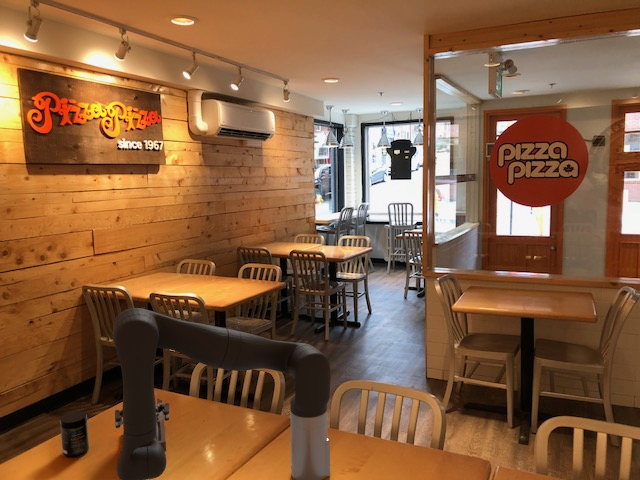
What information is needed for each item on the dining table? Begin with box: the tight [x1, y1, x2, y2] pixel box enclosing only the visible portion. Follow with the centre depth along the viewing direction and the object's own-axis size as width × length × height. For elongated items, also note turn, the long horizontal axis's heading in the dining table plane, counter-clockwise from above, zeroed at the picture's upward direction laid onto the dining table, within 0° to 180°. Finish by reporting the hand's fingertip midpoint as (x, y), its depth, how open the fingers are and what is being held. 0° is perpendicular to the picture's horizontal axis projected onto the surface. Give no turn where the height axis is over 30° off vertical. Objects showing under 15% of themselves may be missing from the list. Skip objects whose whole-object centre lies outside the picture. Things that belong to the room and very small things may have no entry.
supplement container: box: [59, 410, 90, 459], centre depth 144 cm, size 7×7×10 cm
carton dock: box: [121, 418, 167, 452], centre depth 150 cm, size 11×14×2 cm
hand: (142, 403), depth 150 cm, fingers open, 8 cm apart
